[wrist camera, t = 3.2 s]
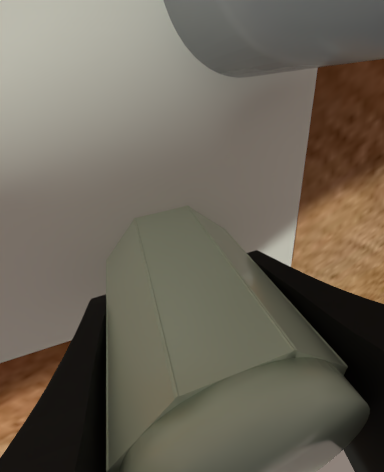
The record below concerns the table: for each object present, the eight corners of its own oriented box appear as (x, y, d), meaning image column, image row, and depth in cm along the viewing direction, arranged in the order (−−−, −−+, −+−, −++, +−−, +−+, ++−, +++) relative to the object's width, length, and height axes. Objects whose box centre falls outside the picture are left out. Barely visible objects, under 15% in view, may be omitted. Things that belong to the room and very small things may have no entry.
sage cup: (129, 319, 13) (153, 562, 6) (93, 227, 10) (64, 511, 3) (227, 288, 14) (339, 465, 7) (222, 196, 11) (409, 356, 4)
